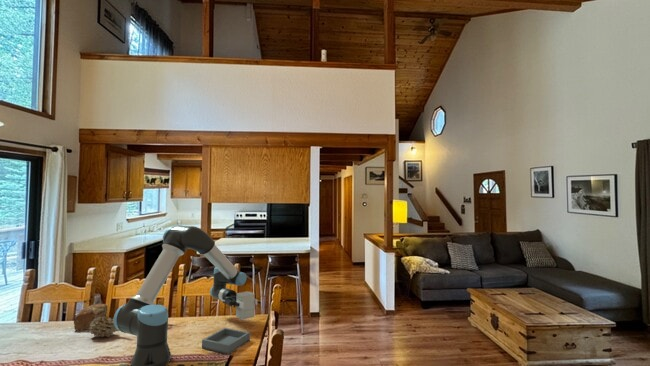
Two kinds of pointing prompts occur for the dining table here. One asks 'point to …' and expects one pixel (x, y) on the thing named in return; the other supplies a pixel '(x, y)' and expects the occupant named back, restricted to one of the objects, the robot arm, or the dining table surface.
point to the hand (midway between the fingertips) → (250, 304)
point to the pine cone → (102, 327)
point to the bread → (89, 316)
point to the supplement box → (245, 305)
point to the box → (226, 340)
